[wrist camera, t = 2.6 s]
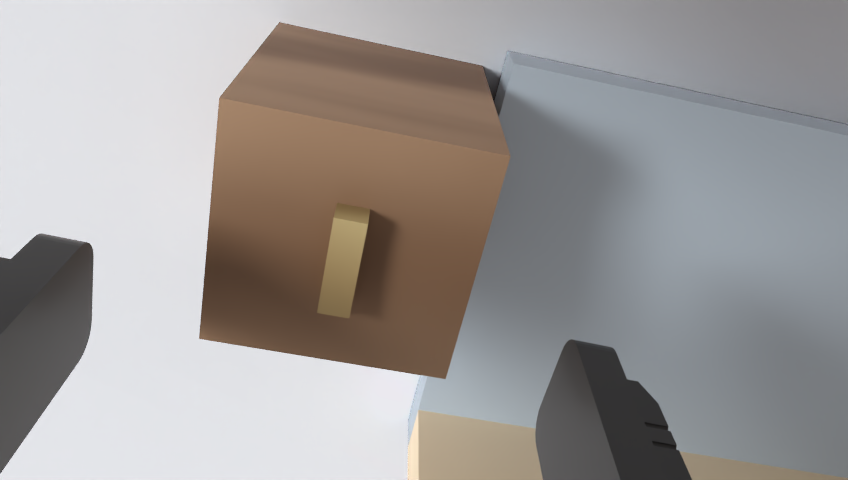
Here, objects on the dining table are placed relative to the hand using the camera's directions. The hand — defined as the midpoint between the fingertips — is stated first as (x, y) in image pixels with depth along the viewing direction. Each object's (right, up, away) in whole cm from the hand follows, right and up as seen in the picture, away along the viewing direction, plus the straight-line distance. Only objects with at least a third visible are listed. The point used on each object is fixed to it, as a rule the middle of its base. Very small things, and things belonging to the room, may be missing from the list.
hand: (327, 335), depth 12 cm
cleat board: (+13, -1, +9) cm, 16 cm away
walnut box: (0, +4, +6) cm, 8 cm away
